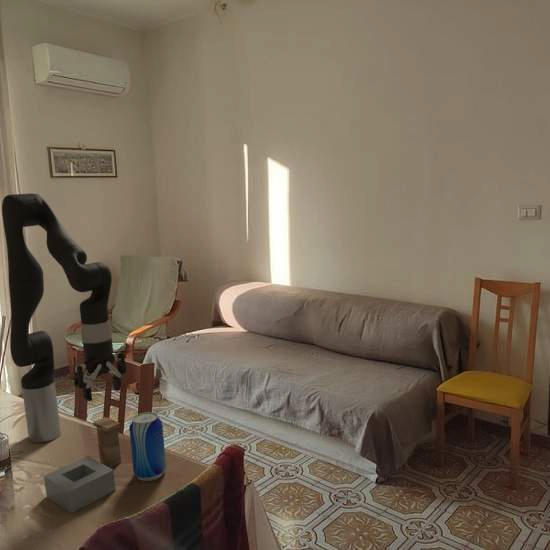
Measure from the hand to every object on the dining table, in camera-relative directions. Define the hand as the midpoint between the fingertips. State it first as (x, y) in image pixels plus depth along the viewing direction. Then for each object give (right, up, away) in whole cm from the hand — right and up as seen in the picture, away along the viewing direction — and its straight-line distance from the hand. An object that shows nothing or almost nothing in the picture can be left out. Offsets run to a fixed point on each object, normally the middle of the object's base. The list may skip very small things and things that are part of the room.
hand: (103, 395), depth 145 cm
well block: (-2, -22, -11) cm, 25 cm away
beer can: (+14, -20, -3) cm, 25 cm away
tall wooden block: (+1, -20, +3) cm, 20 cm away
